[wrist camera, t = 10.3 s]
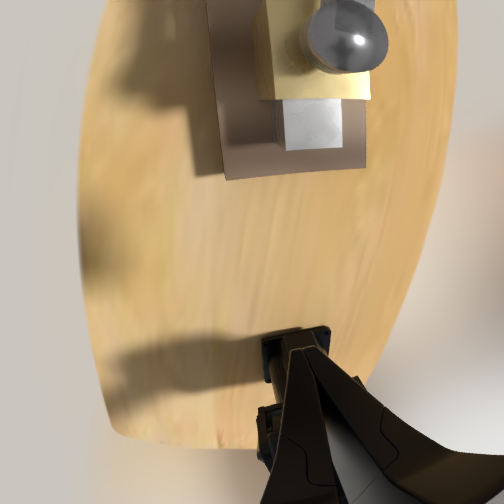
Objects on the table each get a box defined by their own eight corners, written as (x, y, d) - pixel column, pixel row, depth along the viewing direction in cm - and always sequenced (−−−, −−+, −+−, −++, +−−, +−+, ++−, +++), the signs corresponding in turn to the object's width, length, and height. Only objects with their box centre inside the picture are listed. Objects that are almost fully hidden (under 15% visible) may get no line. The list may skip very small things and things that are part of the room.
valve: (333, 138, 17) (382, 158, 12) (262, 143, 17) (286, 164, 12) (320, -12, 12) (364, -46, 7) (246, -15, 12) (264, -59, 7)
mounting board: (353, 161, 20) (366, 168, 18) (224, 172, 19) (225, 180, 18) (339, -23, 13) (350, -32, 11) (204, -25, 13) (203, -37, 11)
